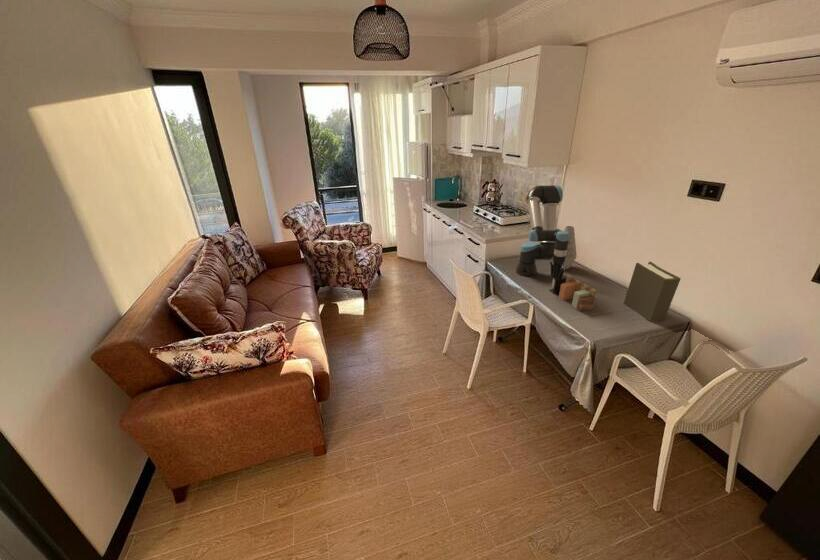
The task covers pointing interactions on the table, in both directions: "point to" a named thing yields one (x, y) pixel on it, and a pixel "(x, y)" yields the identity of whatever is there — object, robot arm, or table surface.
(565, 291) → the book rust
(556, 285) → the bookend
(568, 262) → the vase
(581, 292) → the book green
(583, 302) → the shelf
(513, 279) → the table surface
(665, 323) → the table surface
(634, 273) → the book
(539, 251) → the robot arm
